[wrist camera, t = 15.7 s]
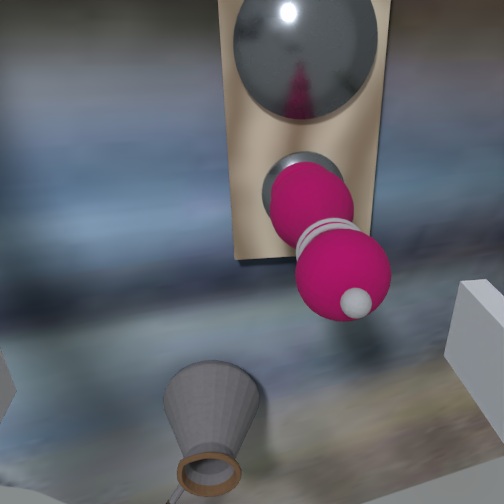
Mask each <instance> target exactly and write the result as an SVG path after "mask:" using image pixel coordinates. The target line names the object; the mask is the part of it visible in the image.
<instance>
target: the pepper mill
mask: <svg viewBox="0 0 504 504" xmlns="http://www.w3.org/2000/svg"><path fill="white" fill-rule="evenodd" d="M353 217H354V203H353V199H352V196H351V193H350V191H349V189H348V188H347V186H346V184H345V183H344V182H343V181H342V180H341V179H340V178H339V177H338V176H337V175H335V174H334V173H332V172H329V171H328V170H327V169H325V168H324V167H323V166H321V165H319V164H317V163H313V162H298V163H294V164H292V165H290V166H288V167H286V168H285V169H284V170H282V171H281V172H280V173H279V175H278V176H277V177H276V179H275V181H274V183H273V185H272V190H271V202H270V219H271V222H272V225H273V227H274V229H275V231H276V233H277V234H278V236H279V237H280V238H281V239H282V240H283V241H284V242H285V243H287V244H288V245H289V246H291V247H292V248H294V249H296V260H297V265H296V271H295V279H296V284H297V288H298V291H299V293H300V295H301V297H302V299H303V300H304V302H305V303H306V305H307V306H308V307H309V308H310V309H311V310H312V311H314V312H315V313H317V314H318V315H320V316H322V317H324V318H327V319H330V320H334V321H353V320H356V319H360V318H362V317H364V316H366V315H368V314H370V313H371V312H372V311H374V310H375V309H376V308H377V307H378V306H379V305H380V304H381V303H382V301H383V300H384V298H385V296H386V295H387V292H388V290H389V287H390V281H391V269H390V263H389V261H388V258H387V256H386V253H385V252H384V250H383V248H382V247H381V246H380V245H379V244H378V243H377V242H376V241H375V239H374V238H372V237H370V236H368V235H367V234H365V233H363V232H361V230H360V229H359V228H358V227H357V226H356V225H355V224H354V223H352V222H353Z"/></svg>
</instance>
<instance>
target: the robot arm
mask: <svg viewBox="0 0 504 504" xmlns="http://www.w3.org/2000/svg"><path fill="white" fill-rule="evenodd" d="M444 356H445V358H446V359H447V361H448V362H449V364H450V365H451V367H452V368H453V370H454V371H455V373H456V374H457V375H458V377H459V378H460V380H461V381H462V383H463V384H464V386H465V387H466V389H467V390H468V392H469V393H470V395H471V396H472V397H473V399H474V400H475V402H476V403H477V405H478V406H479V408H480V409H481V411H482V412H483V414H484V415H485V417H486V418H487V419H488V421H489V422H490V424H491V425H492V427H493V428H494V430H495V431H496V433H497V434H498V436H499V437H500V439H501V440H502V441H503V443H504V296H503V295H502V294H501V293H500V292H499V291H498V290H497V289H496V288H495V287H494V286H493V285H492V284H491V283H489V282H488V281H487V280H486V279H483V280H469V281H460V285H459V289H458V294H457V298H456V303H455V307H454V312H453V316H452V321H451V325H450V330H449V334H448V339H447V344H446V348H445V353H444ZM16 392H17V390H16V388H15V385H14V382H13V380H12V377H11V375H10V372H9V369H8V367H7V364H6V362H5V359H4V356H3V354H2V351H1V349H0V423H1V421H2V419H3V417H4V415H5V413H6V411H7V409H8V407H9V405H10V403H11V401H12V399H13V397H14V396H15V394H16Z"/></svg>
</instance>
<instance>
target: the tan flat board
mask: <svg viewBox="0 0 504 504" xmlns="http://www.w3.org/2000/svg"><path fill="white" fill-rule="evenodd" d="M243 2H244V0H218V8H219V24H220V39H221V55H222V70H223V86H224V101H225V117H226V132H227V148H228V163H229V179H230V195H231V210H232V226H233V241H234V257H235V260H242V259H258V258H274V257H290V256H296V249H294V248H292V247H291V246H289V245H288V244H287V243H285V242H284V241H283V240H282V239H281V238H280V237H279V236H278V234H277V233H276V231H275V229H274V227H273V225H272V222H271V219H270V217H269V216H268V214H267V213H266V211H265V208H264V205H263V201H262V185H263V181H264V178H265V176H266V174H267V173H268V171H269V169H270V168H271V167H272V166H273V165H274V164H275V163H276V162H277V161H278V160H280V159H281V158H283V157H285V156H286V155H289V154H291V153H295V152H300V151H311V152H316V153H319V154H322V155H324V156H326V157H327V158H329V159H330V160H331V161H332V162H333V163H334V164H335V165H336V166H337V167H338V169H339V170H340V172H341V174H342V176H343V179H344V183H345V184H346V186H347V188H348V189H349V191H350V193H351V196H352V199H353V203H354V217H353V222H352V223H354V224H355V225H356V226H357V227H358V228H359V229H360V230H361V232H363V233H365V234H367V235H368V236H370V225H371V214H372V203H373V192H374V181H375V169H376V158H377V147H378V136H379V125H380V114H381V103H382V92H383V80H384V69H385V58H386V47H387V36H388V25H389V14H390V3H391V0H371V2H372V5H373V8H374V11H375V15H376V20H377V28H378V42H377V49H376V54H375V58H374V62H373V65H372V67H371V70H370V72H369V74H368V76H367V78H366V80H365V82H364V83H363V85H362V86H361V88H360V89H359V90H358V91H357V93H356V94H355V95H354V96H353V97H352V98H351V99H350V100H349V101H348V102H347V103H345V104H344V105H343V106H341V107H340V108H338V109H336V110H335V111H333V112H331V113H329V114H326V115H324V116H321V117H317V118H312V119H291V118H286V117H283V116H279V115H277V114H275V113H272V112H270V111H269V110H267V109H266V108H264V107H263V106H262V105H260V104H259V103H258V102H257V101H256V100H255V99H254V98H253V97H252V96H251V95H250V93H249V92H248V91H247V89H246V88H245V86H244V84H243V82H242V80H241V78H240V76H239V73H238V71H237V68H236V63H235V59H234V52H233V35H234V27H235V23H236V19H237V16H238V13H239V10H240V8H241V5H242V4H243Z"/></svg>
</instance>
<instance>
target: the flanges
mask: <svg viewBox="0 0 504 504" xmlns="http://www.w3.org/2000/svg"><path fill="white" fill-rule="evenodd" d="M377 42H378V28H377V20H376V15H375V11H374V8H373V5H372V2H371V0H244V2H243V4H242V5H241V8H240V10H239V13H238V16H237V19H236V23H235V27H234V35H233V52H234V59H235V63H236V68H237V71H238V73H239V76H240V78H241V80H242V82H243V84H244V86H245V88H246V89H247V91H248V92H249V93H250V95H251V96H252V97H253V98H254V99H255V100H256V101H257V102H258V103H259V104H260V105H262V106H263V107H264V108H266V109H267V110H269V111H270V112H272V113H275V114H277V115H279V116H283V117H286V118H291V119H312V118H317V117H321V116H324V115H326V114H329V113H331V112H333V111H335V110H336V109H338V108H340V107H341V106H343V105H344V104H345V103H347V102H348V101H349V100H350V99H351V98H352V97H353V96H354V95H355V94H356V93H357V91H358V90H359V89H360V88H361V86H362V85H363V83H364V82H365V80H366V78H367V76H368V74H369V72H370V70H371V67H372V65H373V62H374V58H375V54H376V49H377Z"/></svg>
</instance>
